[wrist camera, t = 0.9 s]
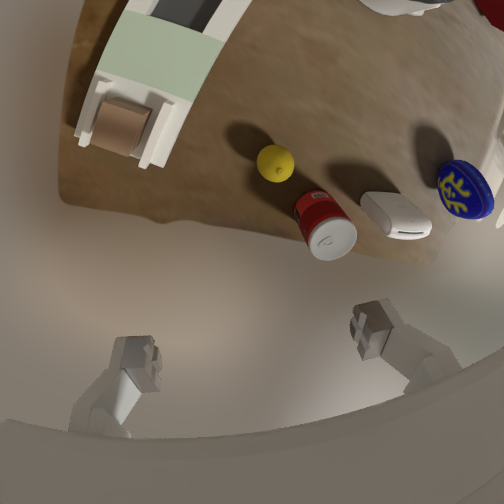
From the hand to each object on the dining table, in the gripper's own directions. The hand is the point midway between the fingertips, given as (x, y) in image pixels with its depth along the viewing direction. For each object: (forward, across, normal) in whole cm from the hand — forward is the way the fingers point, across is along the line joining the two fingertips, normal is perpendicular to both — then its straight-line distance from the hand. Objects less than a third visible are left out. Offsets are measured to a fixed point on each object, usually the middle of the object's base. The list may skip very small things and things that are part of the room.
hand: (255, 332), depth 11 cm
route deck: (+39, +8, -14) cm, 42 cm away
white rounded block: (+39, -29, +15) cm, 51 cm away
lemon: (+39, -7, +5) cm, 40 cm away
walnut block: (+36, +14, -5) cm, 39 cm away
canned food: (+39, -15, +15) cm, 45 cm away
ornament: (+39, -46, +10) cm, 61 cm away
